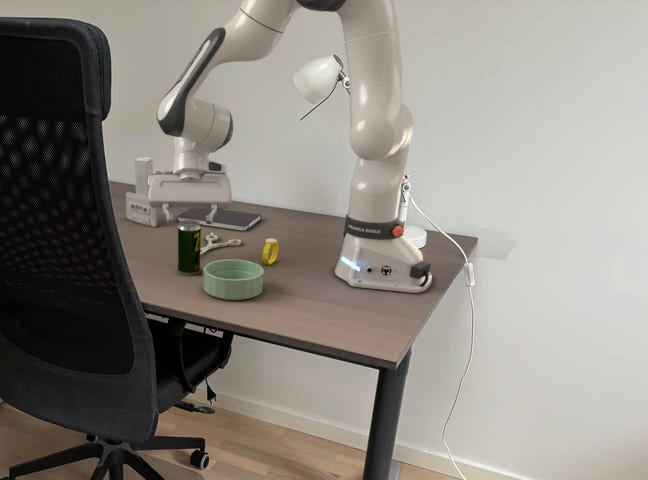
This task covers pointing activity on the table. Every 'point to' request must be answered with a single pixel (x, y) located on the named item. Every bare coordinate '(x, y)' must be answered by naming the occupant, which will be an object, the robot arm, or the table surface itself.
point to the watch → (266, 251)
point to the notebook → (222, 218)
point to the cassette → (140, 210)
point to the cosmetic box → (143, 174)
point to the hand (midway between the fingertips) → (189, 222)
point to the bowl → (233, 279)
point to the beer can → (189, 247)
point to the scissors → (214, 238)
